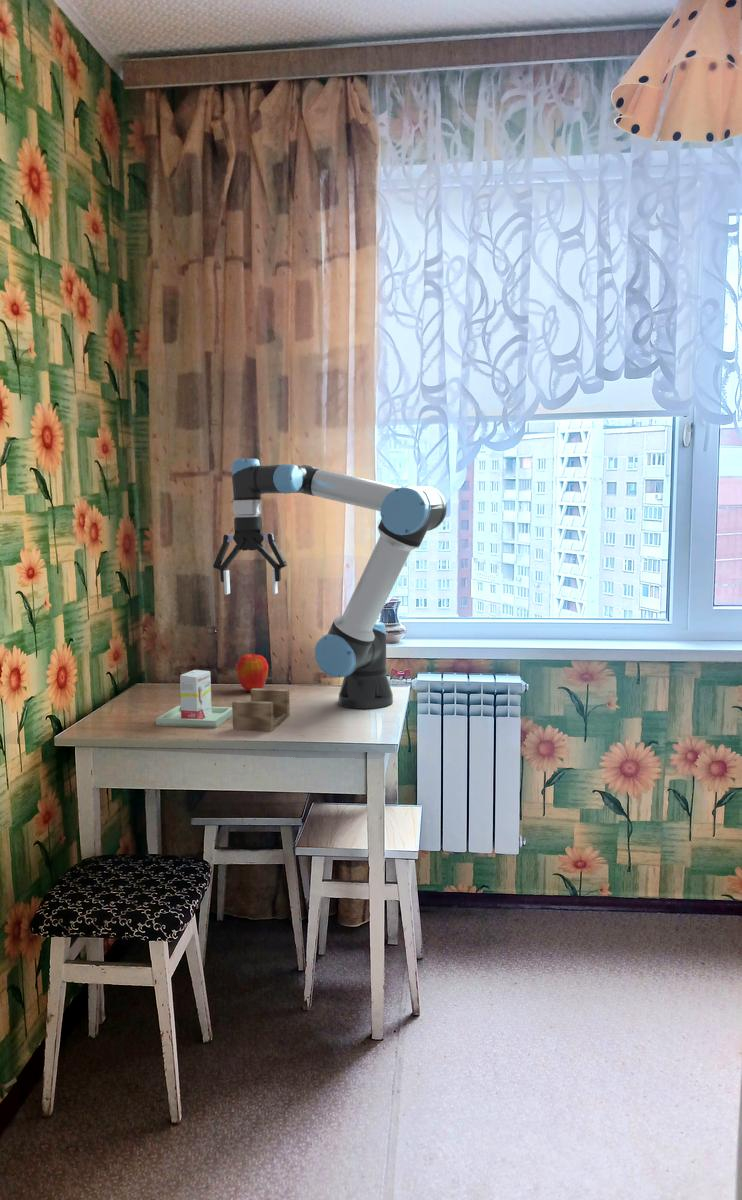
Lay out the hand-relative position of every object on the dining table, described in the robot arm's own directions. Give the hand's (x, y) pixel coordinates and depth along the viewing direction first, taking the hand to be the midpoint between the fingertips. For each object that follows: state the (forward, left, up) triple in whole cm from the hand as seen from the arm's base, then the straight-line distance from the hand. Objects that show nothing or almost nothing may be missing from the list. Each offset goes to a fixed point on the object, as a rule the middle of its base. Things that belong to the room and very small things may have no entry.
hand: (251, 593), depth 251 cm
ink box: (+10, +18, -31) cm, 37 cm away
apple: (+6, -16, -31) cm, 35 cm away
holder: (-8, +18, -31) cm, 37 cm away
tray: (+10, +18, -31) cm, 37 cm away
